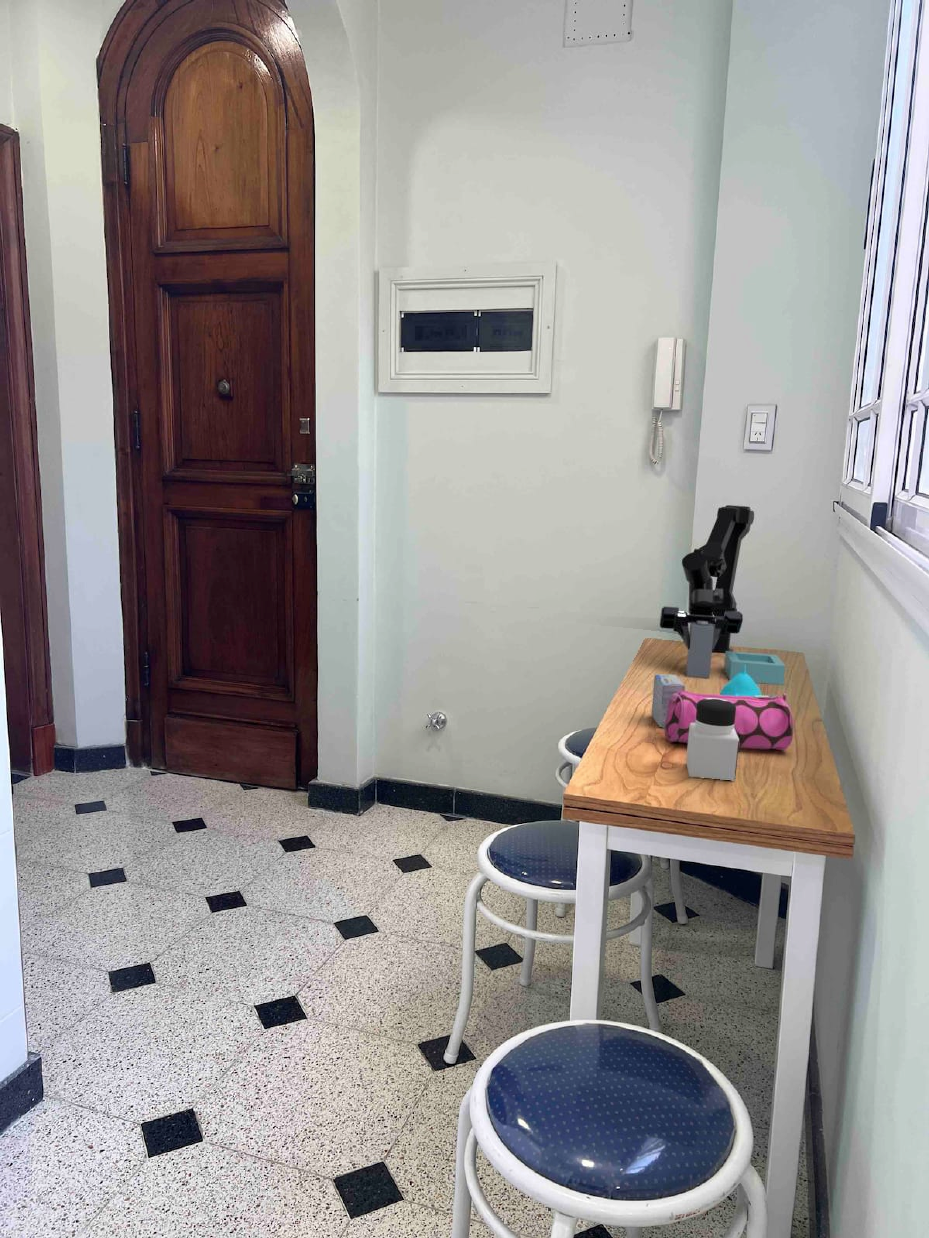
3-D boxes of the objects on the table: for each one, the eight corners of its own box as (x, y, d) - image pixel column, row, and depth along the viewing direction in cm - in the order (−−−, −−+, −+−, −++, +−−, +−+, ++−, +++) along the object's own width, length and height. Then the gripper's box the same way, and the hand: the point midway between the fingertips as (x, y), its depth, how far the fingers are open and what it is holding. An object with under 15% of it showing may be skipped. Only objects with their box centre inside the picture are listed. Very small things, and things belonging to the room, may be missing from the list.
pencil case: (774, 739, 163) (780, 686, 161) (793, 756, 153) (800, 701, 152) (659, 734, 163) (664, 681, 161) (671, 751, 153) (676, 695, 152)
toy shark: (720, 728, 168) (726, 673, 166) (708, 703, 185) (713, 653, 183) (774, 732, 166) (780, 677, 164) (756, 706, 184) (761, 656, 182)
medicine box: (682, 729, 166) (686, 684, 164) (658, 728, 166) (662, 683, 164) (673, 717, 174) (677, 674, 172) (650, 716, 174) (654, 673, 172)
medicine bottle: (735, 782, 139) (743, 709, 137) (688, 777, 140) (695, 704, 138) (729, 767, 146) (737, 697, 144) (685, 762, 147) (692, 693, 145)
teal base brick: (723, 668, 217) (725, 650, 216) (774, 672, 215) (776, 654, 214) (729, 680, 205) (731, 661, 205) (783, 684, 204) (785, 665, 203)
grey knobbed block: (685, 671, 212) (690, 618, 210) (707, 673, 211) (712, 620, 209) (687, 676, 207) (692, 622, 205) (709, 678, 206) (714, 624, 204)
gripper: (664, 573, 210) (663, 626, 202) (745, 578, 207) (747, 633, 199) (660, 600, 219) (658, 653, 211) (738, 606, 216) (739, 659, 208)
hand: (700, 649), depth 207 cm, fingers closed on grey knobbed block, 5 cm apart
